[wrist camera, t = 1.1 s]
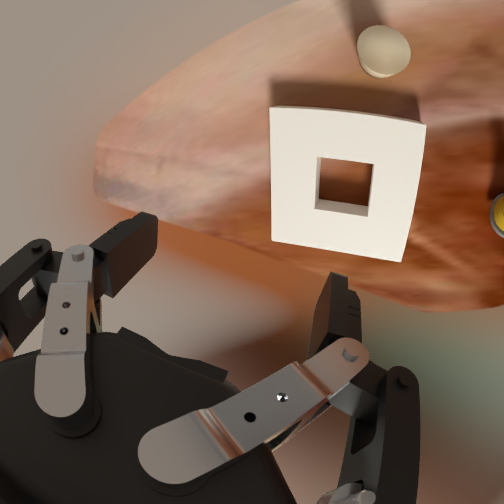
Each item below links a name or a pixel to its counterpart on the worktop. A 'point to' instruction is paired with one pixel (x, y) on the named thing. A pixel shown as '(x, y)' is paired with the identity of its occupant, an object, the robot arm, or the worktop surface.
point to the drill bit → (498, 214)
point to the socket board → (353, 149)
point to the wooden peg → (382, 51)
